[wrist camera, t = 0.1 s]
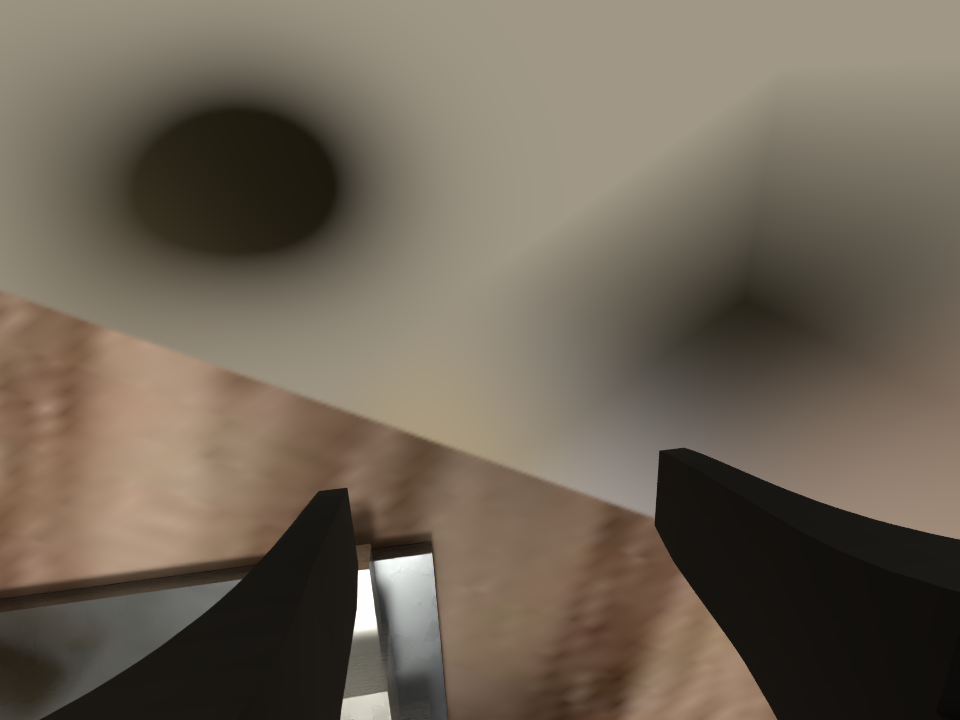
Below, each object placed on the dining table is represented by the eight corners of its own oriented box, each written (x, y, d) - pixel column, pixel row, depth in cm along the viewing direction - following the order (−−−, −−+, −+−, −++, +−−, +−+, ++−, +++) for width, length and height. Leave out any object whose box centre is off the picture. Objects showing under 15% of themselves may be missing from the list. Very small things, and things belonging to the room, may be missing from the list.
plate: (452, 775, 29) (454, 790, 28) (-26, 864, 26) (-38, 885, 25) (430, 541, 24) (432, 553, 24) (-158, 620, 21) (-178, 636, 21)
